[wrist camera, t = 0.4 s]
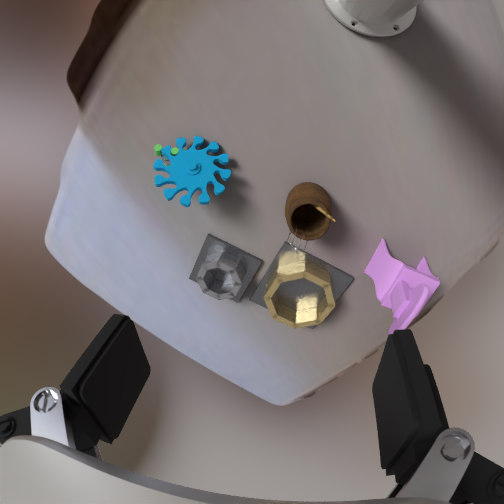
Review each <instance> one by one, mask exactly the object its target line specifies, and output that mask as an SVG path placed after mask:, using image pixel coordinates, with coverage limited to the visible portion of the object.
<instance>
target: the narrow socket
mask: <svg viewBox="0 0 504 504" xmlns="http://www.w3.org/2000/svg"><path fill="white" fill-rule="evenodd" d="M261 262H262V260H261V259H259V258H257V257H255V256H253V255H251V254H249V253H247V252H245V251H243V250H241V249H239V248H237V247H235V246H233V245H231V244H229V243H227V242H225V241H223V240H221V239H219V238H217V237H215V236H213V235H211V234H208V235H207V237H206V240H205V242H204V244H203V247H202V249H201V251H200V254H199V256H198V258H197V261H196V263H195V265H194V268H193V270H192V273H191V275H190V277H189V279H191V280H193V281H195V282H197V283H199V285H200V287H201V289H202V291H203V293H205V294H207V295H209V296H211V297H214V298H216V299H218V300H222V299H228V298H229V299H231V300H234V301H236V302H239V300H240V298H241V297H242V295H243V293H244V292H245V290H246V288H247V286H248V285H249V283H250V281H251V280H252V278H253V276H254V274H255V273H256V271H257V269H258V268H259V266H260V264H261Z"/></svg>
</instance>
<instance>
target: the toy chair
mask: <svg viewBox="0 0 504 504" xmlns="http://www.w3.org/2000/svg"><path fill="white" fill-rule="evenodd" d="M364 273H365V274H367V275H369V276H370V277H371V278H372V279H373V281H374V283H375V287H376V295H377V298H378V300H379V301H380V302H381V305H382V306H385V307H388V308H391V309H392V311H393V317H394V318H395V319H394V321H393V323H392V325H391V326H390V329H389V331H388V335H389V334H393V332H394V330H402V329H406V328H407V326H408V325H409V324H410V322H411V321H412V320H413V319H414V317H417V316H418V314H419V313H420V311H421V310H422V309H423V307H424V305H425V304H426V302H427V301H428V300H429V298H430V297H431V296H432V294H433V293H434V292H435V290H436V289H437V287H438V286H439V284H440V281H439V278H438V277H436V276H434V275H433V274H432V273H431V271H430V269H429V267H428V264H427V260H426V257H423V258H422V260H421V262H420V263H419V265H418V267H417V268H416V269H414V268H412V267H409V266H407V265H406V264H404V263H403V262H401V261H400V260H397V259H394V258H393V257H392V256H391V255H390V254H389V252H388V249H387V246H386V242H385V239H382V240H381V242H380V244H379V246H378V248H377V250H376V251H375V253H374V255H373V257H372V259H371V260H370V262H369V264H368V266H367V267H366V269H365V271H364Z"/></svg>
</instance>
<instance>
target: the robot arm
mask: <svg viewBox="0 0 504 504" xmlns="http://www.w3.org/2000/svg"><path fill="white" fill-rule="evenodd" d="M323 1H324V3H325V5H326V7H327V8H328V10H329V11H330V13H331V14H332V15H333V16H334V17H335V18H336V19H337V20H338V21H339V22H340V23H342V24H343V25H344V26H346V27H348V28H349V29H351V30H353V31H355V32H358V33H360V34H363V35H367V36H371V37H390V36H394V35H397V34H399V33H401V32H403V31H404V30H406V29H407V28H408V27H409V26H410V25H411V24H412V22H413V21H414V19H415V16H416V11H417V5H418V4H419V3H420V2H422V1H423V0H323ZM352 23H354V24H355V26H353V25H352ZM394 28H396V30H394ZM149 375H150V365H149V363H148V360H147V358H146V355H145V353H144V350H143V347H142V345H141V342H140V339H139V337H138V334H137V331H136V328H135V325H134V322H133V321H132V320H130V317H129V316H126V315H119V314H114V315H113V316H112V317H111V318H110V319H109V320H108V322H107V323H106V324H105V325H104V327H103V328H102V329H101V331H100V332H99V333H98V335H97V336H96V337H95V338H94V340H93V341H92V342H91V344H90V345H89V346H88V348H87V349H86V350H85V352H84V353H83V354H82V356H81V357H80V358H79V360H78V361H77V362H76V364H75V365H74V367H73V368H72V369H71V371H70V372H69V374H68V375H67V376H66V378H65V379H64V380H63V382H62V384H61V385H60V388H61V390H60V391H58V390H57V389H55V388H53V387H46V388H42V389H40V390H39V391H37V392H36V393H35V394H34V396H33V397H32V400H31V404H30V406H29V407H26V408H23V409H20V410H17V411H14V412H11V413H8V414H4V415H3V416H0V504H504V468H503V467H501V466H499V465H497V464H495V463H494V462H492V461H490V460H488V459H487V458H485V457H483V456H481V455H480V454H478V453H476V452H475V451H474V450H475V447H474V441H473V438H472V437H471V435H470V434H469V433H468V432H467V431H465V430H463V429H461V428H449V426H448V422H447V418H446V415H445V411H444V408H443V404H442V401H441V398H440V395H439V391H438V388H437V386H436V382H435V379H434V376H433V373H432V370H431V368H430V366H429V365H427V364H423V361H422V358H421V355H420V353H419V350H418V347H417V344H416V341H415V339H414V336H413V333H412V331H411V330H410V329H402V330H394V332H393V334H389V335H388V338H387V342H386V345H385V349H384V352H383V355H382V358H381V361H380V364H379V367H378V370H377V373H376V376H375V379H374V382H373V387H372V392H373V399H374V406H375V413H376V421H377V430H378V439H379V449H380V459H381V467H382V469H386V475H387V476H388V475H395V479H396V482H397V485H396V486H395V487H394V488H393V490H392V491H391V492H390V494H389V495H388V496H387V498H385V499H372V500H360V501H341V502H340V501H339V502H297V501H294V502H293V501H277V500H264V499H254V498H246V497H238V496H231V495H225V494H218V493H213V492H208V491H203V490H198V489H193V488H188V487H184V486H180V485H176V484H172V483H168V482H165V481H161V480H158V479H154V478H151V477H147V476H144V475H141V474H138V473H135V472H132V471H129V470H126V469H123V468H120V467H117V466H115V465H112V464H110V463H107V462H104V461H102V458H101V455H100V452H99V448H98V445H97V443H98V441H99V439H100V440H102V441H104V442H107V443H110V444H112V442H113V440H114V439H116V438H117V437H118V436H119V434H120V432H121V430H122V428H123V426H124V424H125V422H126V420H127V418H128V416H129V414H130V412H131V410H132V408H133V406H134V404H135V402H136V400H137V398H138V396H139V394H140V393H141V391H142V389H143V387H144V385H145V383H146V381H147V379H148V377H149Z"/></svg>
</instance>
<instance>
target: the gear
mask: <svg viewBox="0 0 504 504" xmlns="http://www.w3.org/2000/svg"><path fill="white" fill-rule="evenodd" d="M203 140H204V139H203V138H202V137H199V136H195V137H194V143H193V145H192V146H191V147H190V148H189V149H188V150H183V148H184V147H185V146H186V138H177V140H176V143H177V146H178V148H179V149H178V148H172V149H171V147H170V146H169V145H168V146H166V147H164V148H162V146H161V145H159V144H157V145H155V147H154V151H155V155H157V156H160V155H161V158H162V160H161V159H157V160H156V161H155V163H154V165H153V167H154V169H155V170H156V171H165V172H167V173H168V174H170V175H171V176H170V177H169V178H164V177H163V176H161V175H156V176H155V184H156V187H161V186H162V185H165V184H175V185H177V187H176V188H175V189H169V188H168V189H165V190H164V195H165V197H166V199H167V200H168V201H170V200H172V199H173V198H174V196H175V195H176V194H177V193H178V192H180V191H183V190H187V191H188V192H189V193H188V194H187V195H184V196H182V197H181V198H180V204H181V205H183V206H185V207H189V206H190V204H191V197H192V195H193V194H194V192H195V191H196V190H201V191H202V192H203V193H202V194H201V195H200V197H199V204H203V205H204V204H209V200H210V197H209V196H208V194H207V192H206V186H207V185H208V184H213V185H214V193H215V195H217V196H218V195H220V194H222V193H223V192H224V190H225V187H224V186H223V185H222V184H220V183H218V182H217V181H216V179H215V177H214V174H215V173H218V174H220V175H221V178H222V179H223V180H224V181H227V180H228V179H229V178H230V175H231V170H229V169H221V168H219V167H217V166H216V165H214V164H213V163H214V162H219V163H220V164H222V165H227V164H228V154H222V155H219V156H209V155H207V153H208V152H212V153H216V152H218V150H219V146H218V144H217V143H216V142H215V141H213V142H211V143H210V145H209V146H208V147H206V148H205V149H202V150H197V149H196V147H199V146H201V145H203ZM163 162H165V163H166V166H165V165H164V164H163Z"/></svg>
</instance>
